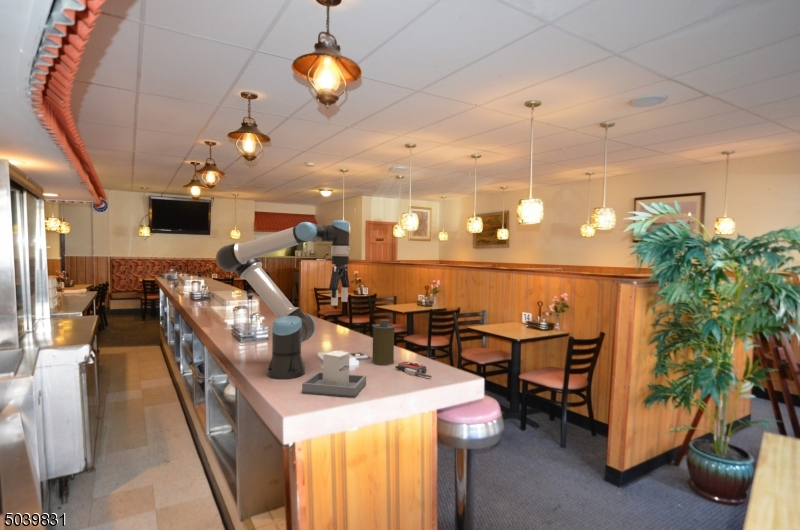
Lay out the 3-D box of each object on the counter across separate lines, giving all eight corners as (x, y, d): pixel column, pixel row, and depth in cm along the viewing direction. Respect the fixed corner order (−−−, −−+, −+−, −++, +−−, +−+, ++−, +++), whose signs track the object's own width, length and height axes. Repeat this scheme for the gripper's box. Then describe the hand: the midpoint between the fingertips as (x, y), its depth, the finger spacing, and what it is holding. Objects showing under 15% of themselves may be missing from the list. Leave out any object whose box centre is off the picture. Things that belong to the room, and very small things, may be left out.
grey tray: (302, 393, 148) (302, 383, 148) (317, 380, 163) (317, 371, 163) (355, 397, 145) (355, 388, 145) (366, 384, 159) (366, 375, 159)
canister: (393, 359, 198) (394, 318, 197) (394, 365, 188) (395, 322, 187) (371, 359, 198) (372, 318, 197) (370, 365, 187) (371, 321, 187)
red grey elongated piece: (391, 371, 179) (429, 380, 167) (392, 361, 179) (430, 370, 167) (404, 367, 186) (441, 376, 174) (404, 357, 186) (441, 365, 174)
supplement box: (337, 390, 149) (338, 356, 149) (321, 387, 153) (322, 353, 152) (349, 385, 156) (350, 352, 155) (333, 382, 159) (334, 349, 159)
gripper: (339, 255, 167) (338, 307, 168) (356, 255, 192) (355, 300, 193) (322, 255, 169) (321, 306, 169) (341, 255, 193) (340, 300, 194)
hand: (339, 303), depth 181 cm, fingers open, 13 cm apart
